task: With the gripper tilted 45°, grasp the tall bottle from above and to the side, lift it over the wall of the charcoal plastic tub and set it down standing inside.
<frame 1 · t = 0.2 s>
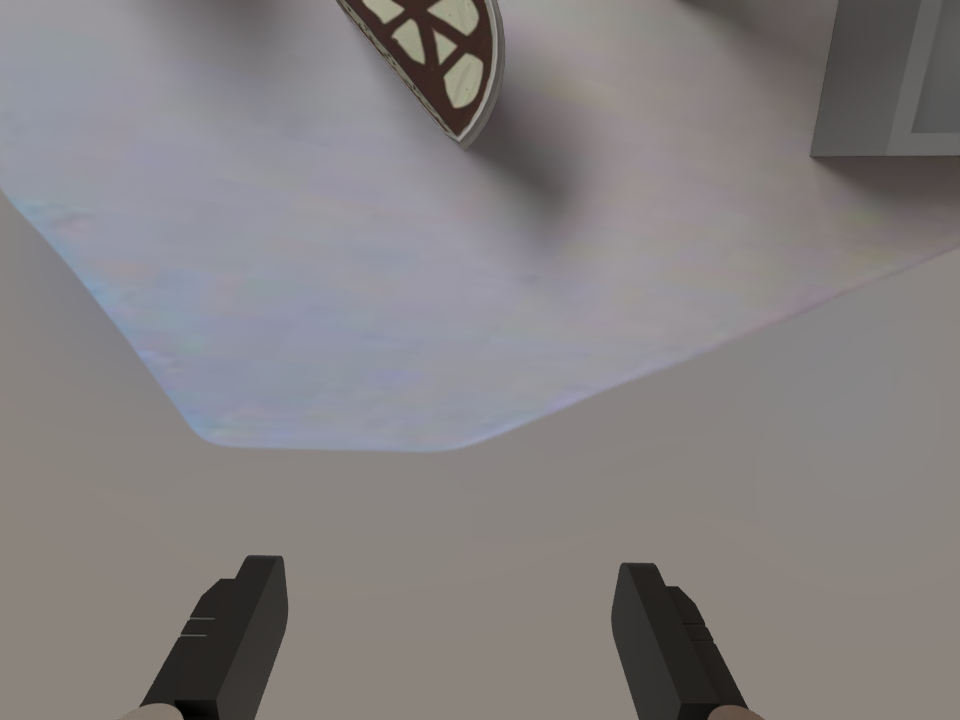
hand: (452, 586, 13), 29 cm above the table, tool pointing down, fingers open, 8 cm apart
food container: (431, 39, 35), on the table
charcoal tub: (952, 25, 36), on the table
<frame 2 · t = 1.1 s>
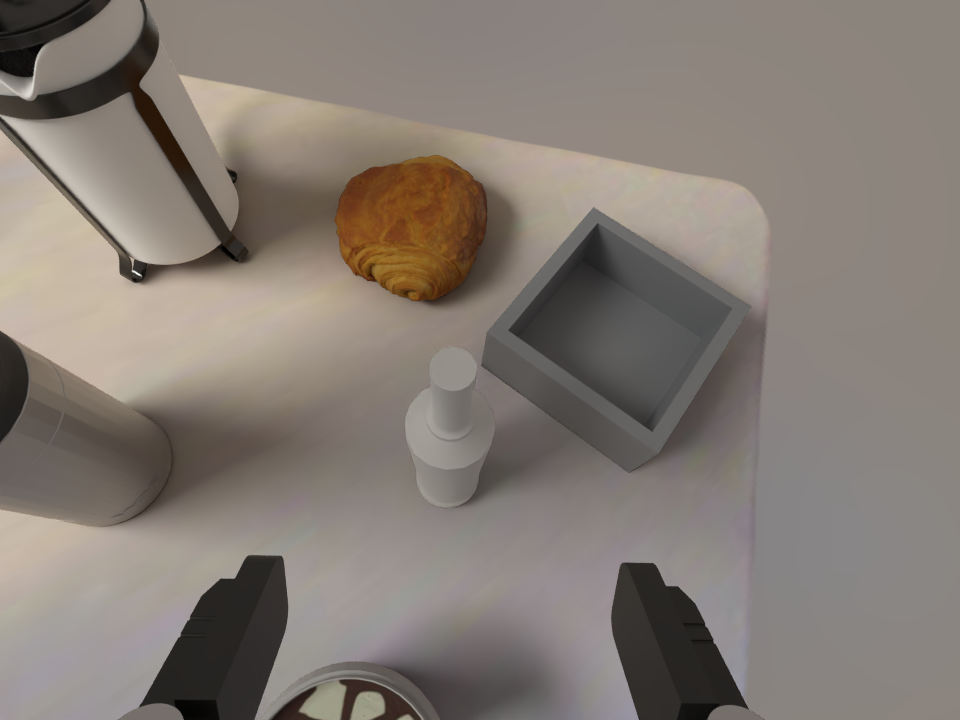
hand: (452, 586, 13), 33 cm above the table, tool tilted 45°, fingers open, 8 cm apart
bottle: (447, 479, 47), on the table
coffee press: (180, 218, 55), on the table
food container: (364, 696, 40), on the table
charcoal tub: (600, 353, 52), on the table
croissant: (412, 238, 56), on the table
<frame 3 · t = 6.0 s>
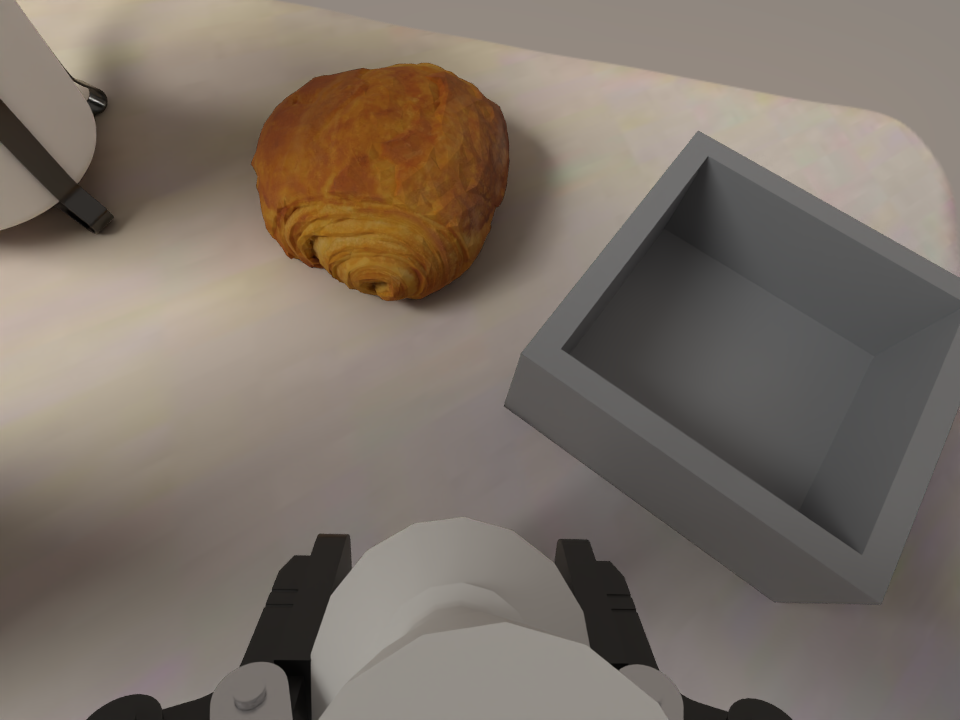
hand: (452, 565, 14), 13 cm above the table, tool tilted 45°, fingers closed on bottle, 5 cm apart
bottle: (446, 622, 25), on the table, touching gripper
coffee press: (9, 164, 34), on the table
charcoal tub: (704, 382, 31), on the table
croissant: (387, 199, 35), on the table
when the fingers open (15 cm above the table, at t = 13.0 s): bottle drops 1 cm, resting on charcoal tub.
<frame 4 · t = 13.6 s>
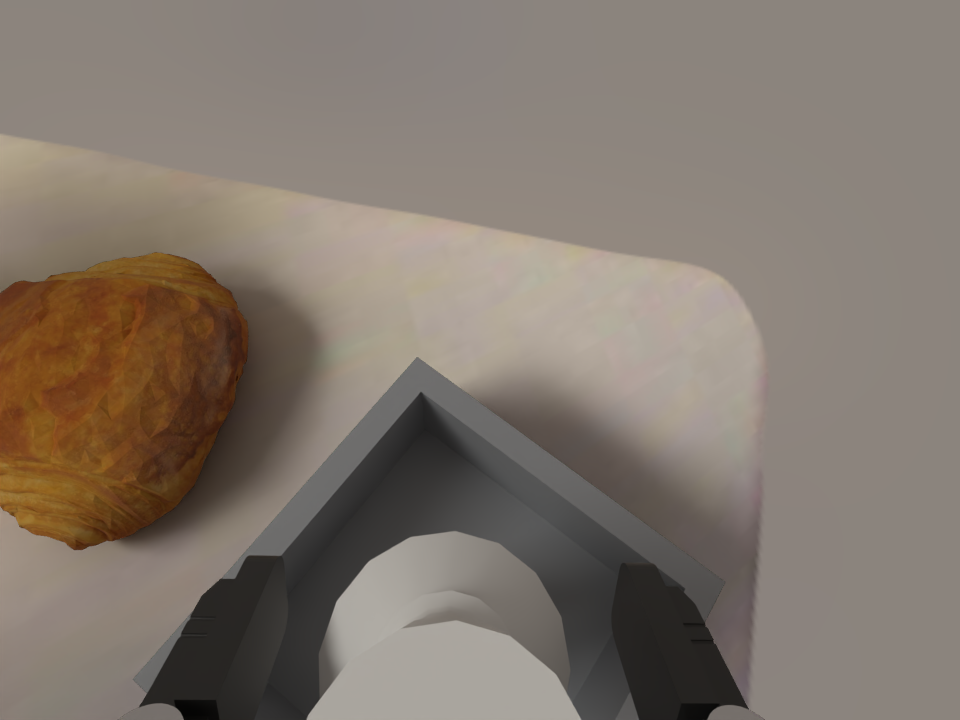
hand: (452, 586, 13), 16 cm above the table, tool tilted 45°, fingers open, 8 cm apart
bottle: (445, 626, 27), point 1 cm above the table, touching charcoal tub
charcoal tub: (445, 620, 27), on the table
croissant: (126, 397, 31), on the table
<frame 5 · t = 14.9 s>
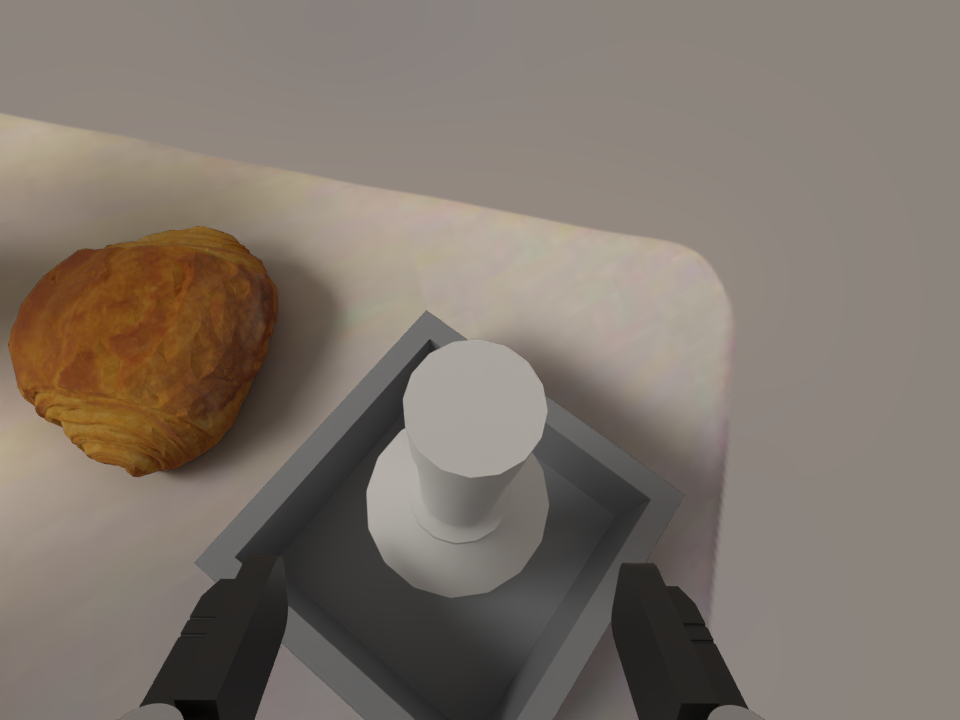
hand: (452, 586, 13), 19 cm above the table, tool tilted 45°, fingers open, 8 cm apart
bottle: (449, 544, 31), point 1 cm above the table, touching charcoal tub
charcoal tub: (449, 540, 32), on the table
croissant: (170, 353, 36), on the table
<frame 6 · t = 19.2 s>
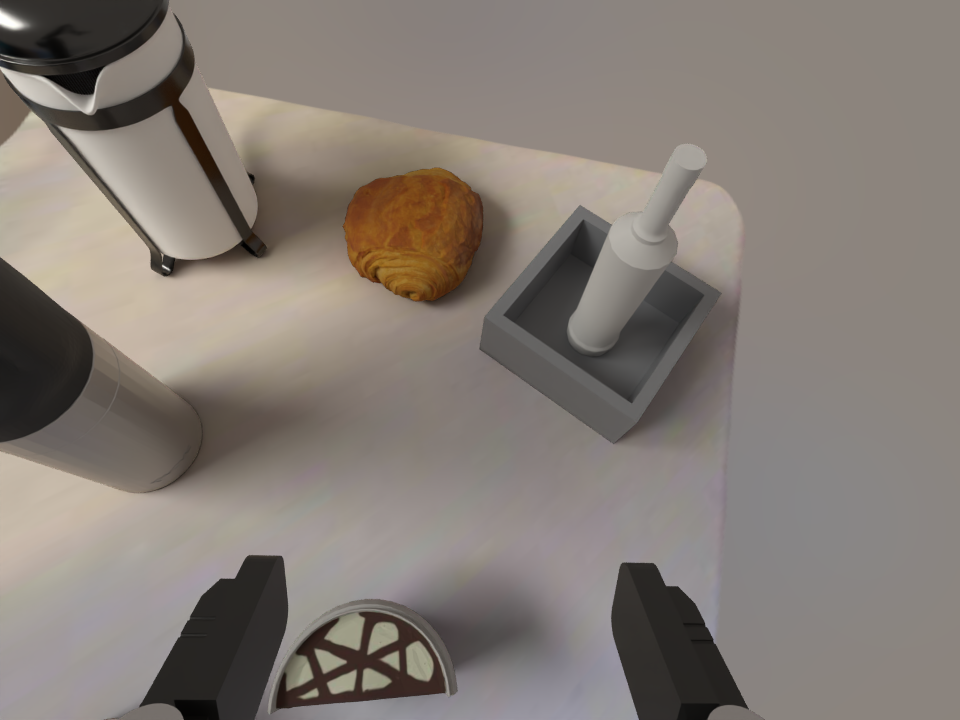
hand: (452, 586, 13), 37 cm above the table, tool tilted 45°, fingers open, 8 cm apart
bottle: (589, 336, 56), point 1 cm above the table, touching charcoal tub
coffee press: (203, 217, 60), on the table
food container: (377, 639, 45), on the table
charcoal tub: (587, 337, 57), on the table
croissant: (414, 243, 61), on the table
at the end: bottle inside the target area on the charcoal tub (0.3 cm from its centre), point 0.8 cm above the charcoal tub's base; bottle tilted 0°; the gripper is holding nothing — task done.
